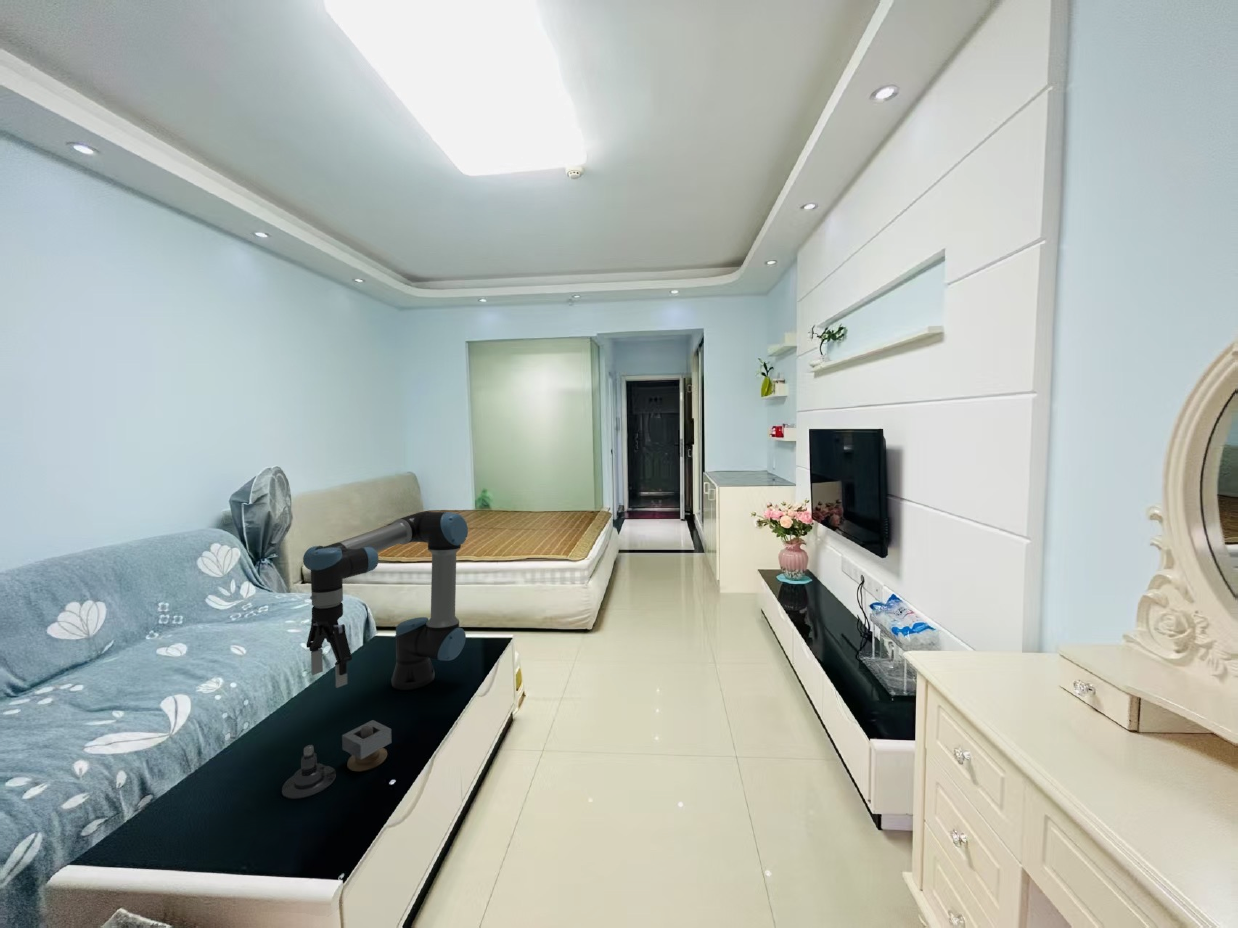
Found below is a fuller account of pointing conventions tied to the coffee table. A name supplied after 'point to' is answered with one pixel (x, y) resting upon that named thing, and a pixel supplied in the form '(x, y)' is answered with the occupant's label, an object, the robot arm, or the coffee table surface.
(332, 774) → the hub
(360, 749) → the collar
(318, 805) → the coffee table surface
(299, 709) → the coffee table surface
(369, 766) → the stand
